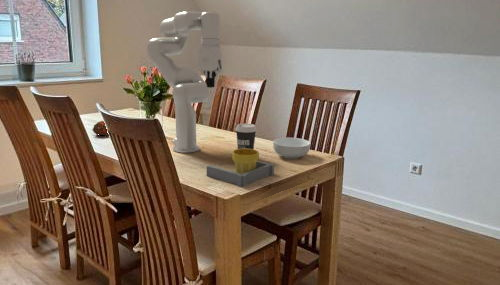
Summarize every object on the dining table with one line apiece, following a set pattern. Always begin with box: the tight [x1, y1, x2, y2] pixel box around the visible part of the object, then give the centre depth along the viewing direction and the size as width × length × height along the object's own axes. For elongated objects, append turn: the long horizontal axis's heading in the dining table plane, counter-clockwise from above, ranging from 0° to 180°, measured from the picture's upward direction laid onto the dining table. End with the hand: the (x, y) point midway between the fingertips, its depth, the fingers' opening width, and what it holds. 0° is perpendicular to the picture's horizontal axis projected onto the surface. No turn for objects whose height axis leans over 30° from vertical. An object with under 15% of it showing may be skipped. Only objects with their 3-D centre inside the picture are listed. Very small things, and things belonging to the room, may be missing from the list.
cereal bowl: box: [272, 137, 311, 160], centre depth 201 cm, size 17×17×7 cm
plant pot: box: [232, 148, 260, 174], centre depth 173 cm, size 10×10×10 cm
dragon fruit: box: [91, 120, 109, 136], centre depth 235 cm, size 8×8×12 cm
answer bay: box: [206, 160, 275, 187], centre depth 174 cm, size 19×20×4 cm
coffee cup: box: [234, 123, 258, 150], centre depth 196 cm, size 10×10×15 cm
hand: (210, 87), depth 187 cm, fingers closed
